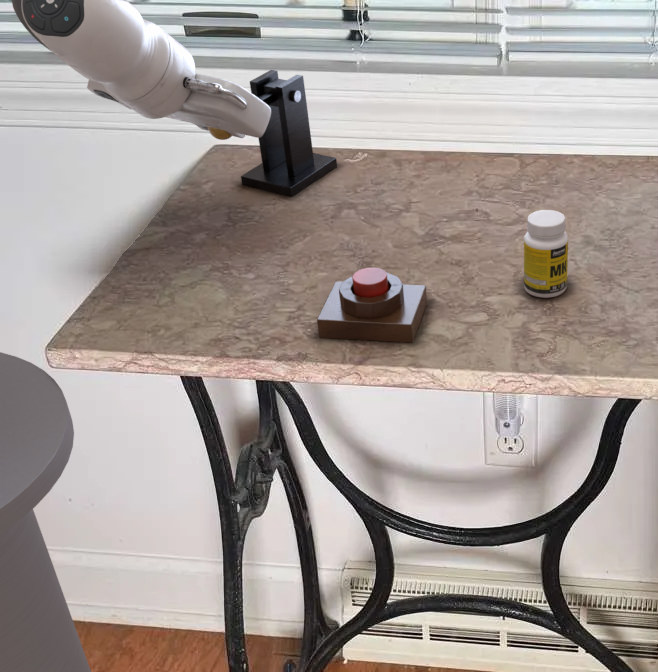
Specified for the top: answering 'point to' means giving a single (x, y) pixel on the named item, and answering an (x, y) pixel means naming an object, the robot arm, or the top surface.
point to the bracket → (286, 141)
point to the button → (370, 282)
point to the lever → (268, 98)
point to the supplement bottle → (545, 254)
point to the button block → (373, 312)
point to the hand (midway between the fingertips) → (225, 128)
